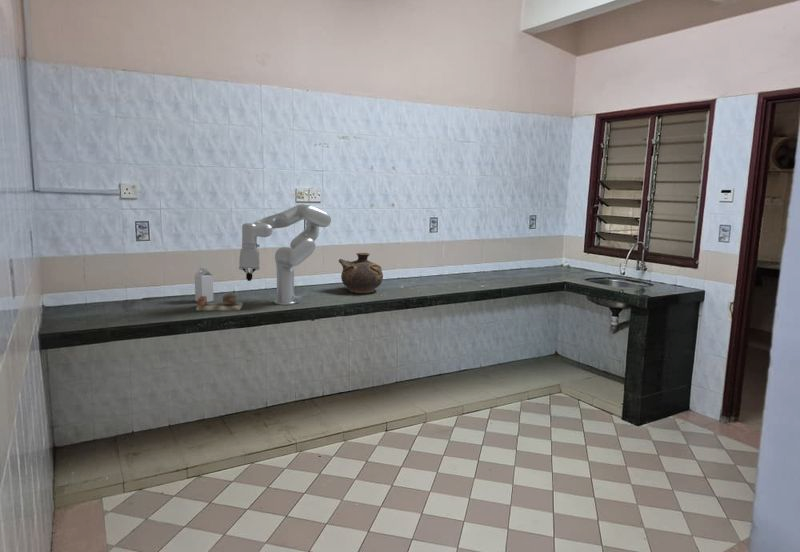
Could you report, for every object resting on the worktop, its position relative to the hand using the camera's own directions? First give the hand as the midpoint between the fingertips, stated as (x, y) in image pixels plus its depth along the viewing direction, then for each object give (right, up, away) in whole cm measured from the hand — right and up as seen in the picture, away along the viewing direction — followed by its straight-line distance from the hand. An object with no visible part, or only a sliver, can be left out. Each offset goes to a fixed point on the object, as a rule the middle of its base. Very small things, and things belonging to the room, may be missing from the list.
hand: (249, 280), depth 290 cm
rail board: (-16, -15, 0) cm, 22 cm away
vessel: (+56, -7, +58) cm, 82 cm away
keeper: (-11, -13, +1) cm, 17 cm away
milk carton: (-29, -12, +15) cm, 35 cm away
